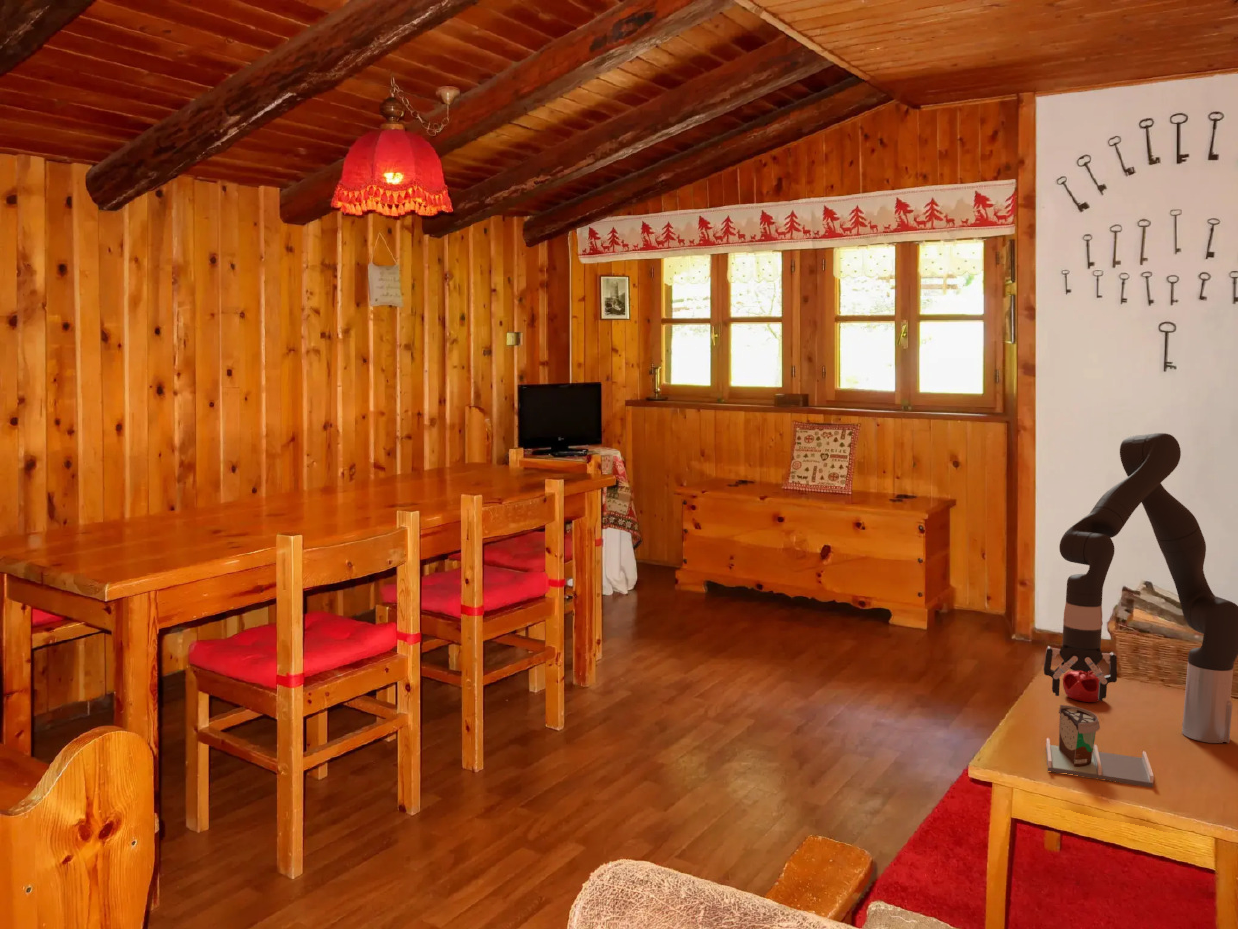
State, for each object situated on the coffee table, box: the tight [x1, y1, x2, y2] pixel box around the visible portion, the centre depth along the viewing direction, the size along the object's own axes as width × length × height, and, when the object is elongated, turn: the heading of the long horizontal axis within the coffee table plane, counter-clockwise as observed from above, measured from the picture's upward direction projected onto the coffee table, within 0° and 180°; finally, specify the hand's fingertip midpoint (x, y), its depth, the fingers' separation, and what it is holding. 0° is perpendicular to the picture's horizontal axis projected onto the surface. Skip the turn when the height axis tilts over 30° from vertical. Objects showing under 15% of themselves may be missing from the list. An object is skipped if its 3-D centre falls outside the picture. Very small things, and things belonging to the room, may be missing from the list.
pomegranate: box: [1062, 670, 1100, 703], centre depth 266 cm, size 10×10×9 cm
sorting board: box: [1045, 737, 1155, 788], centre depth 222 cm, size 20×14×2 cm
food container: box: [1058, 704, 1101, 767], centre depth 223 cm, size 12×6×10 cm, turn 176°
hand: (1078, 697), depth 222 cm, fingers open, 8 cm apart
